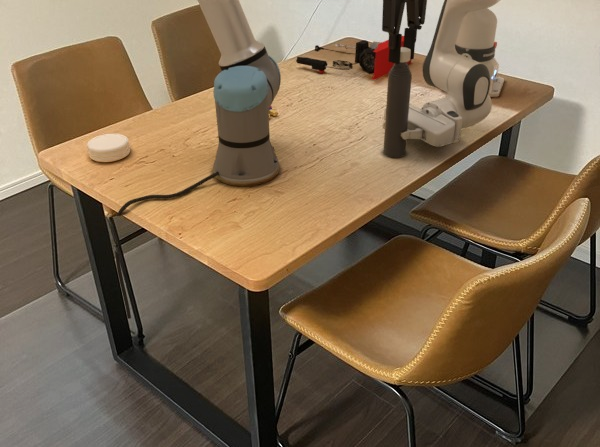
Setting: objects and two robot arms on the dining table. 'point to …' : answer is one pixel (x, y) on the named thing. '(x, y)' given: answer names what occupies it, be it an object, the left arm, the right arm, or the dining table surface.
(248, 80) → the left robot arm
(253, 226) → the dining table surface
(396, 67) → the bottle
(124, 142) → the white round disc
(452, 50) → the right robot arm
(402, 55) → the cap
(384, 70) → the electric hoist
